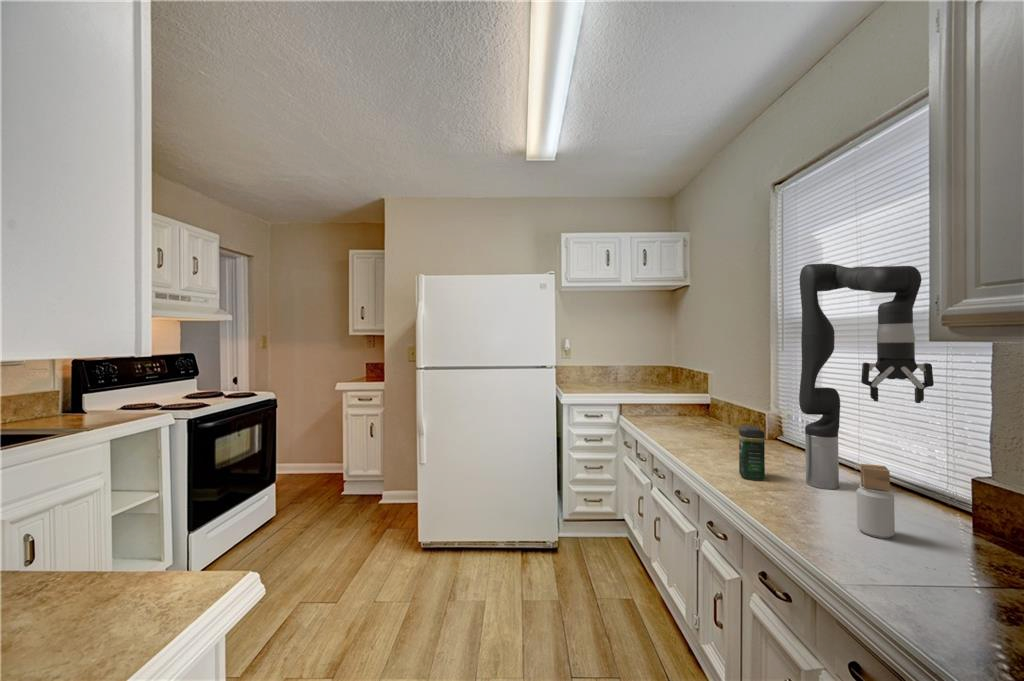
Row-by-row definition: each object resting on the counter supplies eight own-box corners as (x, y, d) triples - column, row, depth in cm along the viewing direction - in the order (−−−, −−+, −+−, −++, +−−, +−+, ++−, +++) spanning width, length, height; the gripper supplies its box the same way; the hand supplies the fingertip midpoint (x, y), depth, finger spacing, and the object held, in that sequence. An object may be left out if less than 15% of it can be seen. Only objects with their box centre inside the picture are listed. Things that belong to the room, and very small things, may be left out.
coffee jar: (767, 481, 153) (766, 429, 153) (742, 480, 155) (741, 428, 155) (760, 473, 162) (760, 423, 162) (737, 472, 164) (736, 423, 164)
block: (860, 482, 115) (860, 463, 115) (885, 485, 113) (885, 466, 113) (864, 488, 111) (864, 468, 111) (889, 491, 109) (889, 471, 109)
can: (902, 540, 108) (901, 492, 108) (867, 538, 109) (866, 490, 109) (883, 528, 115) (882, 482, 115) (850, 526, 116) (850, 481, 116)
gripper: (927, 340, 116) (927, 401, 116) (859, 341, 123) (859, 398, 123) (936, 340, 109) (937, 405, 109) (863, 341, 116) (864, 402, 116)
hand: (896, 401), depth 116 cm, fingers open, 8 cm apart
